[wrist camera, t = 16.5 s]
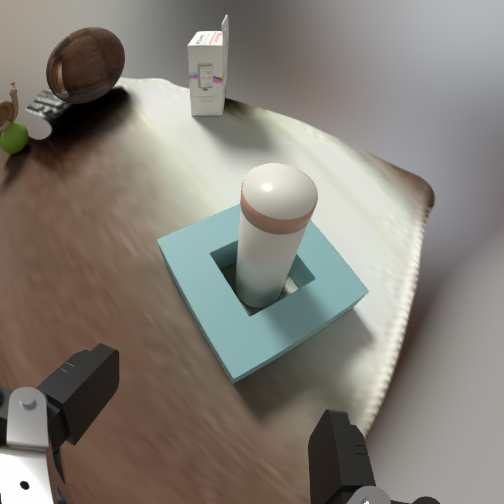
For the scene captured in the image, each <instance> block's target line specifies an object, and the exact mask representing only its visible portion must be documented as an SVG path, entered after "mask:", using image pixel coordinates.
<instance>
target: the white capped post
mask: <svg viewBox="0 0 504 504" xmlns="http://www.w3.org/2000/svg"><path fill="white" fill-rule="evenodd" d="M317 200H318V193H317V188H316V186H315V184H314V182H313V181H312V179H311V178H310V177H309V176H308V175H307V174H305V173H304V172H303V171H301V170H299V169H297V168H295V167H293V166H290V165H286V164H280V163H268V164H263V165H260V166H257V167H255V168H253V169H252V170H251V171H249V172H248V173H247V175H246V176H245V178H244V180H243V183H242V189H241V202H240V205H241V213H240V226H239V239H238V252H237V266H236V280H235V290H236V294H237V296H238V297H239V299H240V300H241V301H242V302H243V303H244V304H246V305H248V306H250V307H253V308H265V307H268V306H270V305H272V304H273V303H274V302H276V300H277V299H278V298H279V296H280V293H281V291H282V288H283V286H284V283H285V281H286V278H287V276H288V274H289V271H290V269H291V266H292V264H293V261H294V259H295V256H296V253H297V251H298V248H299V246H300V243H301V241H302V238H303V235H304V233H305V230H306V228H307V225H308V223H309V221H310V219H311V217H312V214H313V212H314V209H315V206H316V204H317Z"/></svg>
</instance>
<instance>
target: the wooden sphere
mask: <svg viewBox="0 0 504 504" xmlns="http://www.w3.org/2000/svg"><path fill="white" fill-rule="evenodd" d="M124 62H125V54H124V49H123V46H122V44H121V42H120V40H119V39H118V38H117V36H116V35H114V34H113V33H112V32H110V31H108V30H106V29H103V28H99V27H88V28H83V29H79V30H77V31H75V32H73V33H71V34H69V35H68V36H66V37H65V38H64V39H62V40H61V41H60V42H59V43H58V45H57V46H56V47H55V48H54V50H53V52H52V53H51V55H50V57H49V60H48V63H47V70H46V76H47V82H48V85H49V87H50V89H51V91H52V92H53V94H54V95H55V96H56V97H58V98H59V99H61V100H62V101H65V102H68V103H72V104H83V103H88V102H91V101H94V100H96V99H98V98H100V97H102V96H103V95H105V94H106V93H107V92H108V91H110V90H111V89H112V88H113V86H114V85H115V84H116V83H117V81H118V79H119V78H120V76H121V73H122V71H123V67H124Z"/></svg>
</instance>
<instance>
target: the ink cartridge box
mask: <svg viewBox="0 0 504 504" xmlns="http://www.w3.org/2000/svg"><path fill="white" fill-rule="evenodd" d="M225 27H226V29H225ZM228 36H229V29H228V15H226V17H225V19H224V21H223V23H222V31H204V32H197V33H196V35H195V36H194V38H193V39H192V40H191V42H190V43H189V44H188V46H187V47H188V61H189V62H188V63H189V81H190V99H191V115H192V116H222V115H223V109H224V101H225V93H226V76H227V75H226V74H227V55H228V54H227V53H228Z"/></svg>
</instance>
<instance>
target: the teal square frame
mask: <svg viewBox="0 0 504 504" xmlns="http://www.w3.org/2000/svg"><path fill="white" fill-rule="evenodd" d="M240 213H241V205H240V204H239V205H236V206H234V207H232V208H229V209H227V210H224V211H222V212H220V213H217V214H215V215H212V216H210V217H208V218H205V219H203V220H201V221H198V222H196V223H194V224H192V225H189V226H187V227H185V228H182V229H180V230H178V231H176V232H173V233H171V234H169V235H167V236H164V237H162V238H160V239H158V240H157V242H158V245H159V248H160V251H161V253H162V256H163V259H164V262H165V264H166V266H167V268H168V270H169V272H170V274H171V276H172V278H173V280H174V282H175V284H176V286H177V288H178V290H179V291H180V293H181V295H182V297H183V299H184V301H185V303H186V305H187V307H188V308H189V310H190V312H191V314H192V316H193V318H194V319H195V321H196V323H197V325H198V326H199V328H200V330H201V332H202V334H203V335H204V337H205V339H206V341H207V342H208V344H209V346H210V347H211V349H212V351H213V353H214V354H215V356H216V358H217V359H218V361H219V363H220V364H221V366H222V368H223V369H224V371H225V372H226V374H227V376H228V377H229V379H230V381H231V382H232V384H234V383H236V382H238V381H239V380H241V379H243V378H245V377H247V376H248V375H250V374H252V373H254V372H255V371H257V370H259V369H260V368H262V367H264V366H265V365H267V364H269V363H270V362H272V361H274V360H275V359H277V358H279V357H280V356H282V355H283V354H285V353H287V352H288V351H290V350H291V349H293V348H295V347H296V346H298V345H299V344H301V343H302V342H304V341H305V340H307V339H308V338H310V337H311V336H313V335H314V334H316V333H317V332H319V331H320V330H322V329H323V328H325V327H326V326H328V325H329V324H331V323H332V322H333V321H335V320H336V319H338V318H339V317H341V316H342V315H343V314H345V313H346V312H347V311H349V310H350V309H352V308H353V307H354V306H355V305H356V304H357V303H358V302H359V301H360V300H361V299H362V298H363V297H364V296H365V295H366V294H367V293H368V292H369V291H368V289H367V288H366V287H365V285H364V284H363V283H362V282H361V280H360V279H359V278H358V277H357V275H356V274H355V273H354V271H353V270H352V269H351V268H350V267H349V265H348V264H347V263H346V262H345V260H344V259H343V258H342V257H341V255H340V254H339V253H338V252H337V251H336V249H335V248H334V247H333V246H332V245H331V243H330V242H329V241H328V240H327V239H326V237H325V236H324V235H323V234H322V233H321V231H320V230H319V229H318V228H317V227H316V226H315V224H314V223H313V222H312V221H311V220H310V221H309V223H308V225H307V228H306V230H305V233H304V235H303V238H302V241H301V243H300V246H299V248H298V251H297V253H296V256H295V259H294V261H293V264H292V266H291V269H290V271H289V275H290V277H291V278H292V279H293V281H294V282H295V283H296V285H297V286H298V288H299V289H298V290H297V291H295V292H293V293H291V294H290V295H288V296H286V297H285V298H283V299H281V300H279V301H278V302H276V303H274V304H272V305H271V306H269V307H267V308H265V309H263V310H262V311H260V312H258V313H256V314H254V315H253V316H251V317H249V315H248V314H247V312H246V311H245V309H244V307H243V306H242V304H241V303H240V301H239V300H238V298H237V297H236V295H235V293H234V292H233V290H232V289H231V287H230V285H229V284H228V282H227V281H226V279H225V278H224V276H223V274H222V273H221V271H220V270H221V269H223V268H225V267H227V266H229V265H231V264H233V263H235V262H237V252H238V239H239V226H240Z"/></svg>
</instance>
